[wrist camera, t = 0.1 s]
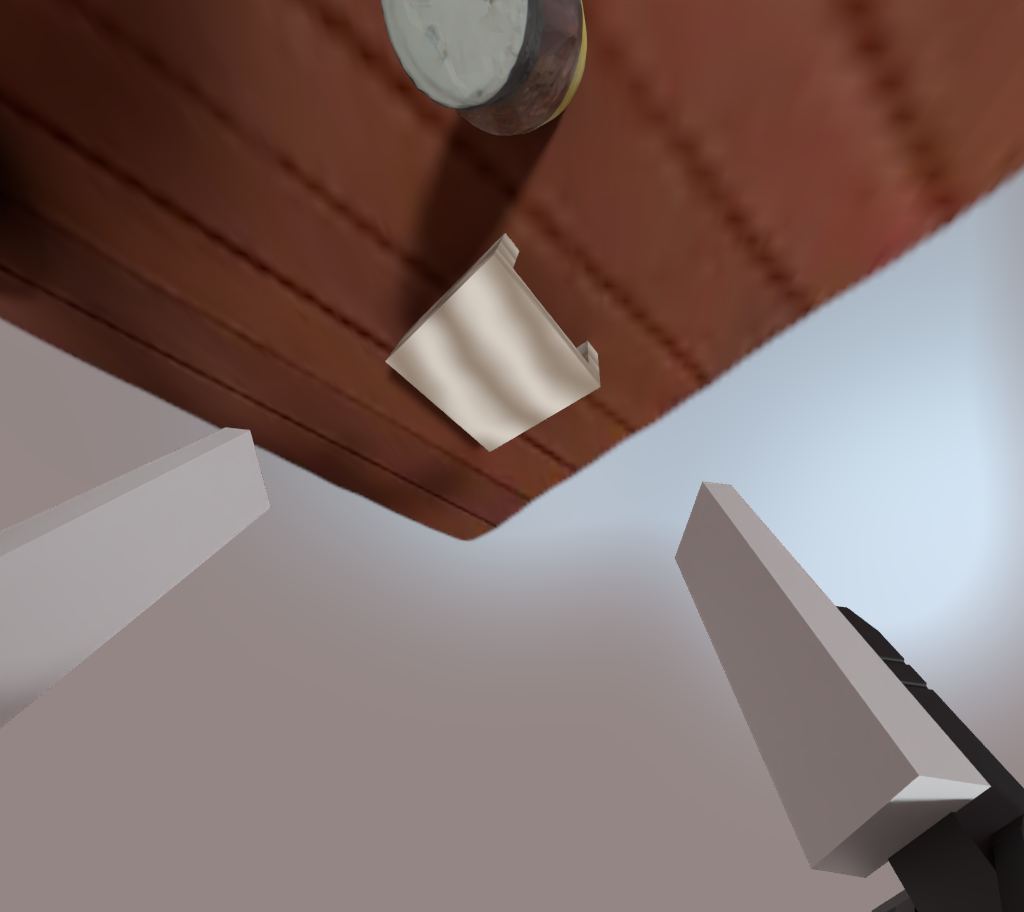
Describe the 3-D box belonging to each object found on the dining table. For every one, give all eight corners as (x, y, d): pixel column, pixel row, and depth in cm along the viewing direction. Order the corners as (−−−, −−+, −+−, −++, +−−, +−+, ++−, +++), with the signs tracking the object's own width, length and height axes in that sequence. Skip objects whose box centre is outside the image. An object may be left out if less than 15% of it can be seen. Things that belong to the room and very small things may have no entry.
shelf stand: (505, 232, 30) (493, 254, 26) (597, 353, 37) (600, 386, 33) (406, 331, 38) (385, 361, 34) (497, 417, 44) (489, 451, 40)
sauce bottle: (591, -26, 21) (626, -290, 7) (580, 122, 25) (588, 152, 11) (479, -16, 21) (296, -236, 7) (487, 126, 26) (383, 159, 12)
